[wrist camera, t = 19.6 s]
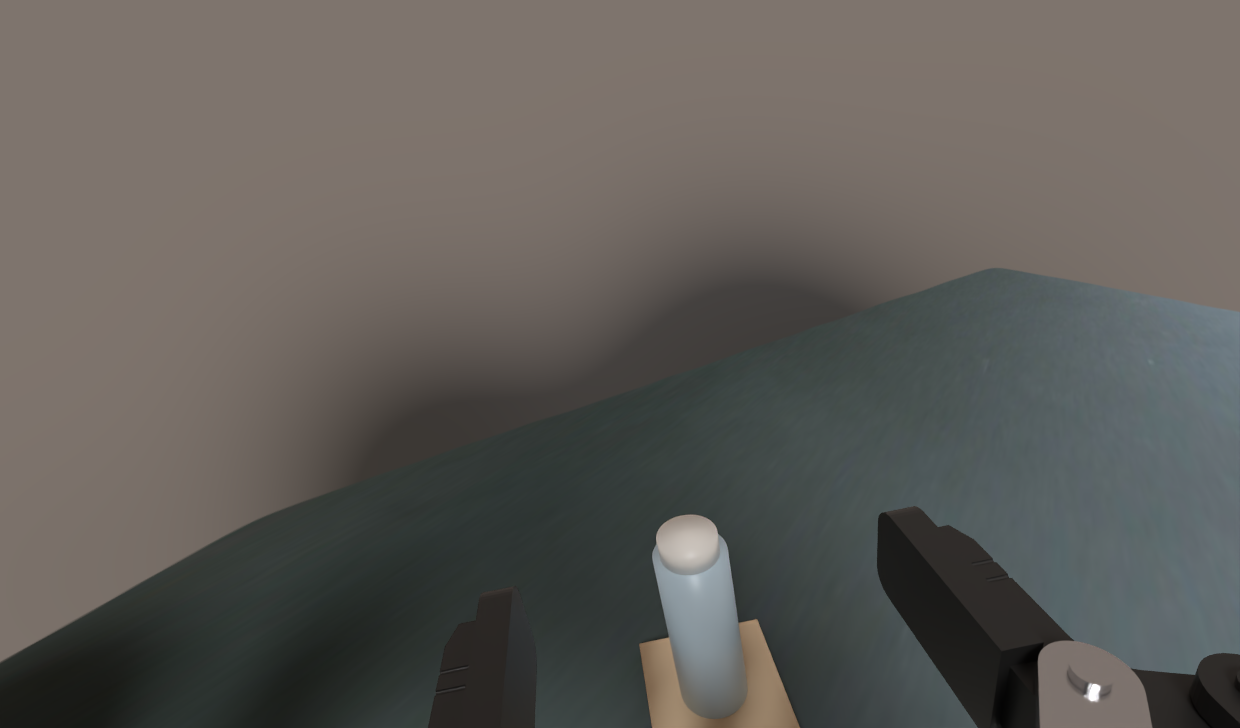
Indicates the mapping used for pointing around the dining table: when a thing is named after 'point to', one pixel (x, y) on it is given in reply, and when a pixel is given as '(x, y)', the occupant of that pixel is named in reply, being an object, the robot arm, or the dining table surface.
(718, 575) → the bottle
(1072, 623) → the dining table surface
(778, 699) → the coaster
